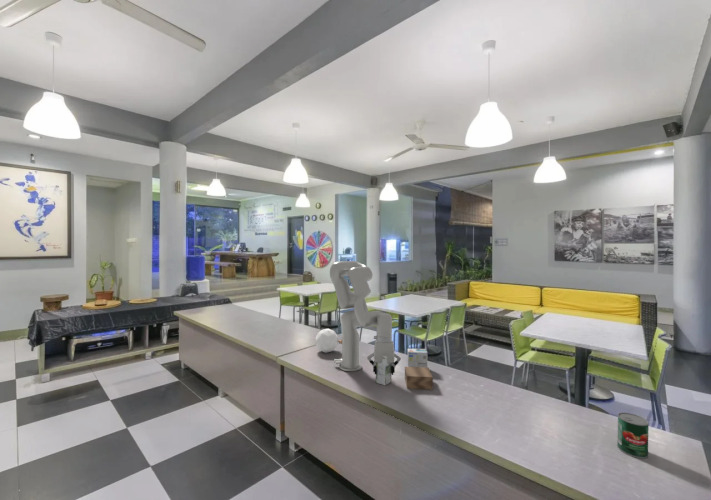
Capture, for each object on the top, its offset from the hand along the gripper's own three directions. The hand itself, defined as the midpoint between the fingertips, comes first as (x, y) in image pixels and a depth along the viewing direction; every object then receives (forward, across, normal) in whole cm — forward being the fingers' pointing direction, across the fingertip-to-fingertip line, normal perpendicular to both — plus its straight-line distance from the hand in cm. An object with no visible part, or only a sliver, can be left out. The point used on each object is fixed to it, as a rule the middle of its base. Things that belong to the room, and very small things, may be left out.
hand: (383, 373), depth 160 cm
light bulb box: (+5, +19, +19) cm, 27 cm away
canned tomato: (+5, +82, -47) cm, 95 cm away
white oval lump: (+5, -33, +44) cm, 55 cm away
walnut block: (+5, +17, 0) cm, 18 cm away
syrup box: (+5, 0, 0) cm, 5 cm away
